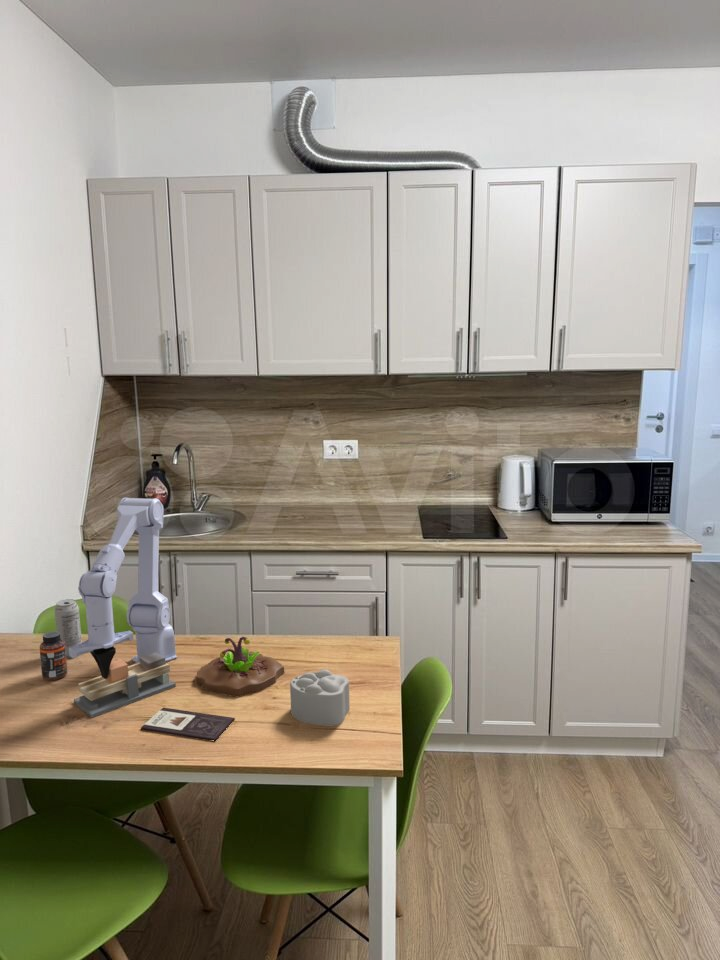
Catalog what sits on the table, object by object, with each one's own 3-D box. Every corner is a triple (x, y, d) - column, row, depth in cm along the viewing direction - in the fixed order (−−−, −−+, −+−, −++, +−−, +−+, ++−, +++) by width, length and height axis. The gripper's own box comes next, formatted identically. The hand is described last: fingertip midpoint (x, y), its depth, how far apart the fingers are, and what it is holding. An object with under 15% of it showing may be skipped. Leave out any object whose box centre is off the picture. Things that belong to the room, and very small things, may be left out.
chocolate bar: (215, 739, 149) (140, 727, 154) (215, 743, 149) (141, 731, 154) (234, 717, 158) (163, 707, 163) (234, 721, 158) (163, 711, 163)
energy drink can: (77, 648, 197) (72, 596, 194) (86, 654, 193) (81, 602, 190) (55, 654, 193) (50, 602, 190) (64, 661, 189) (58, 608, 186)
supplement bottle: (58, 682, 177) (54, 639, 175) (37, 680, 178) (32, 638, 176) (72, 671, 182) (68, 630, 180) (52, 670, 184) (47, 628, 182)
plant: (242, 704, 165) (240, 659, 163) (183, 684, 176) (180, 642, 174) (296, 671, 182) (294, 630, 179) (239, 654, 192) (237, 615, 190)
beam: (157, 668, 179) (156, 650, 178) (170, 676, 175) (169, 658, 174) (79, 696, 165) (77, 677, 165) (91, 705, 161) (89, 686, 160)
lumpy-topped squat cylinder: (339, 728, 154) (338, 691, 152) (283, 720, 157) (282, 684, 156) (352, 704, 164) (352, 670, 162) (299, 698, 167) (298, 664, 166)
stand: (156, 673, 181) (154, 651, 180) (175, 686, 174) (174, 663, 173) (74, 702, 167) (71, 678, 166) (91, 717, 160) (89, 693, 158)
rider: (121, 674, 171) (120, 658, 170) (128, 680, 168) (127, 664, 167) (105, 679, 168) (104, 663, 167) (112, 685, 165) (111, 669, 164)
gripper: (75, 635, 156) (80, 693, 158) (137, 618, 165) (141, 672, 168) (63, 626, 161) (68, 682, 163) (124, 610, 170) (128, 663, 173)
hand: (104, 677), depth 166 cm, fingers closed
